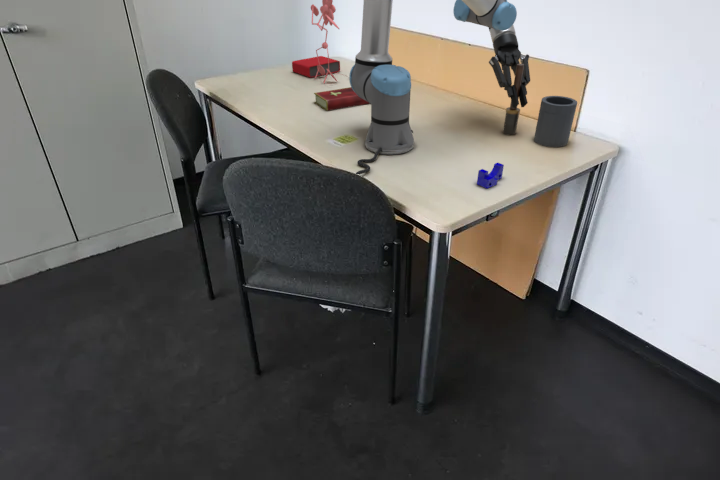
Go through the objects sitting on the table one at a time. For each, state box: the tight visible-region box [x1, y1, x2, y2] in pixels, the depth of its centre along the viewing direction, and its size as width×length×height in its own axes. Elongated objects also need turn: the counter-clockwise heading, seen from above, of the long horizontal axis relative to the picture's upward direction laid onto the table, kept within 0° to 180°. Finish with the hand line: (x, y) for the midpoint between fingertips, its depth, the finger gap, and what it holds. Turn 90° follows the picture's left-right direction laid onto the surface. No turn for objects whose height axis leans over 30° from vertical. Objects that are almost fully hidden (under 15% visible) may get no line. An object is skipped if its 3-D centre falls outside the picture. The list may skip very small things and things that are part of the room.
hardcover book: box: [313, 86, 371, 112], centre depth 188 cm, size 12×21×4 cm, turn 117°
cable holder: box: [476, 162, 505, 190], centre depth 129 cm, size 8×4×4 cm, turn 129°
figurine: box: [310, 0, 349, 84], centre depth 210 cm, size 15×26×35 cm, turn 29°
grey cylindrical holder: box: [533, 95, 578, 148], centre depth 150 cm, size 10×10×13 cm
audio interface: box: [291, 55, 341, 78], centre depth 229 cm, size 18×14×5 cm
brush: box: [502, 63, 524, 136], centre depth 154 cm, size 4×4×22 cm
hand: (520, 105), depth 151 cm, fingers closed on brush, 2 cm apart
